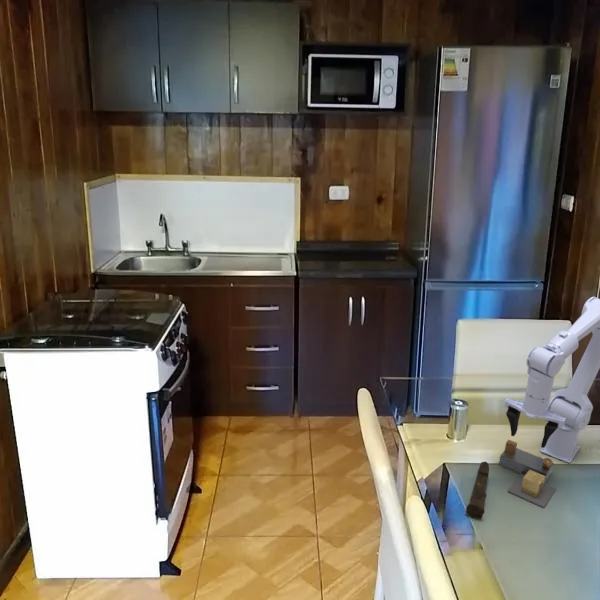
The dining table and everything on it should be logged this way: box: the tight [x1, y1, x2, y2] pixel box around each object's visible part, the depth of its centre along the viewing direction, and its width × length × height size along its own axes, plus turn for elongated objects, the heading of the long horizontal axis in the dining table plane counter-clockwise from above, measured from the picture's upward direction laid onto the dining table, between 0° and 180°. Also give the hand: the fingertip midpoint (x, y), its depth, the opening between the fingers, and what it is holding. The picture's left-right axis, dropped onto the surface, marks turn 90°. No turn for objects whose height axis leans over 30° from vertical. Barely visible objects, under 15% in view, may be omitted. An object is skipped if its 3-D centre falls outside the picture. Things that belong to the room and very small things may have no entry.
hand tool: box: [465, 461, 490, 519], centre depth 148 cm, size 19×4×5 cm, turn 155°
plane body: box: [498, 439, 555, 484], centre depth 158 cm, size 6×12×6 cm, turn 51°
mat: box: [507, 473, 557, 509], centre depth 151 cm, size 9×9×1 cm
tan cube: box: [521, 470, 546, 498], centre depth 150 cm, size 4×4×4 cm
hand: (528, 440), depth 154 cm, fingers open, 7 cm apart
